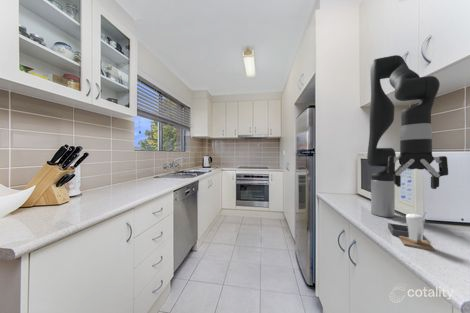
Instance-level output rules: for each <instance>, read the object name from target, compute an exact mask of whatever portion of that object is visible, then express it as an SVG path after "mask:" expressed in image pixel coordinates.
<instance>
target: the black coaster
mask: <svg viewBox="0 0 470 313" xmlns="http://www.w3.org/2000/svg"><path fill="white" fill-rule="evenodd" d="M387 228H388V230H389V232H390V233H391V235H392V236H395V237H399V236H404V237H408V231H407V225H406V224H405V225H404V224H396V223H392V222H391V223H390V222H388V223H387ZM423 240H425V239H424V234H423Z"/></svg>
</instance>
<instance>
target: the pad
mask: <svg viewBox="0 0 470 313" xmlns="http://www.w3.org/2000/svg"><path fill="white" fill-rule="evenodd" d="M398 239H399V240H400V241H401V243H402V244H403V246H406V247H411V248H412V247H413V248H416V249H420V250H421V249H422V250H427V251H433V252H435V251H436V249H435V247H433V245H432V244H430V242H428V240H427V239H424V240H423V241H422V244H416V243H412V242H410V241H409V240H408V237H404V236H398Z"/></svg>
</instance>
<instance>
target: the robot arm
mask: <svg viewBox="0 0 470 313" xmlns="http://www.w3.org/2000/svg"><path fill="white" fill-rule="evenodd" d="M369 72H370V104H369V105H370V107H369V136H368V137H369V138H368V145H367V146H368V148H367V156H366V158H367V159H366V160H367V164H368V165H369V166H370V167H384V169H383V170H380V171H378V172H374V173H372V174H371V175H370V213H371V214H372V215H375V216H379V217H383V218H384V217H385V218H394V217H395V216H396V214H395V212H396V211H395V210H396V207H395V206H396V204H395V203H396V202H395V200H396V199H395V198H396V197H395V196H396V195H395V186H396V187H398V188H400V187H401V183H402V182H401V181H402V178H401V177H402V176H401V174H402V173H403V172H405V171H406V170H416V169H417V170H422V171H423V170H425V171H426V172H428V174H429V175H431V176H430V188H431V189H432V190H437V188H439V186H440V177H443V176H448V175H449V167H448V166H449V165H448V163H449V162H448V157H447V156H445V155H444V156H443V155H439V156H434V155H433V128H432V110H433V105H434V103H435V99H436V97H437V95H438V92H439V89H440V85H441V84H440V80H439V79H438V78H437V77H436V76H434V75H427V76H420V75H419V73H417V72H416V71H414V70H412V69H411V68H410V67H409V66H408V63H406V61H405V59H404V58H403V57H402V56H401V55H398V54H394V55H390V56H383V57H378V58H375V59H373V60H372V62H371V65H370V71H369ZM384 79H389V80H388V82H389V84H390V86H391V87H392V88H393V89H394V94H393V95H394V98H395V99H396V100H398V101H400V102H409V101H418V100H419V103H418V104H417V105H414V106H410V107H406V108H404V109H403V110H402V111H401V113H400V119H401V120H400V122H401V123H400V124H401V125H400V131H399V132H400V136H399V141H400V142H399V147H400V148H399V155H398V156H396V150H395V149H394V148H393V147H378V144H379V142H380V139H381V138H382V137H383V135H384V134H385V133H386V132H387V130H388V129H389V128H390V127H391V125H392V124H393V122H394V120H395V105H394V103H393V101H392V100H391V99H390V98H389V97H388V95H387V94H386V93H385V90H384V89H383V88H382V84H381V80H384ZM377 147H378V148H377ZM397 161H399V162H400V165H399V166H398V167H397V169H396V163H397ZM434 161H435V162H436V164H438V171H437V170H436V169H435V168H434V167H433V166H432V165H431V164H432V163H433V162H434Z"/></svg>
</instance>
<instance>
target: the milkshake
mask: <svg viewBox="0 0 470 313" xmlns="http://www.w3.org/2000/svg"><path fill="white" fill-rule="evenodd" d="M426 214H427V212H425V211H424V214H423V216H422V215H420V214H416V213H407V214H406V215H405V221H406V226H407V231H406V232H408V240H409V241H410V242H412V243H416V244H422V241H423V235H424V229H425V222H426V218H425V216H426Z"/></svg>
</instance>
